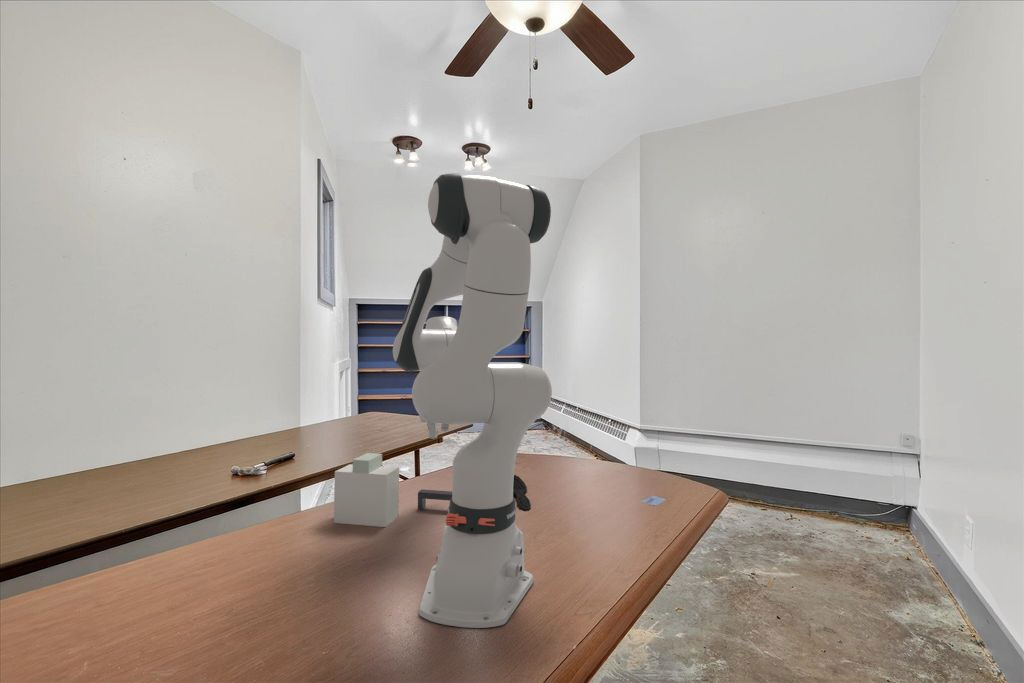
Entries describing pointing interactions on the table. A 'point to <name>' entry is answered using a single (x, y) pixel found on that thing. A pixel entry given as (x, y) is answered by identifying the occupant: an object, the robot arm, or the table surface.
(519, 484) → the hairbrush
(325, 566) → the table surface
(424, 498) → the frame
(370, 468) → the stand
